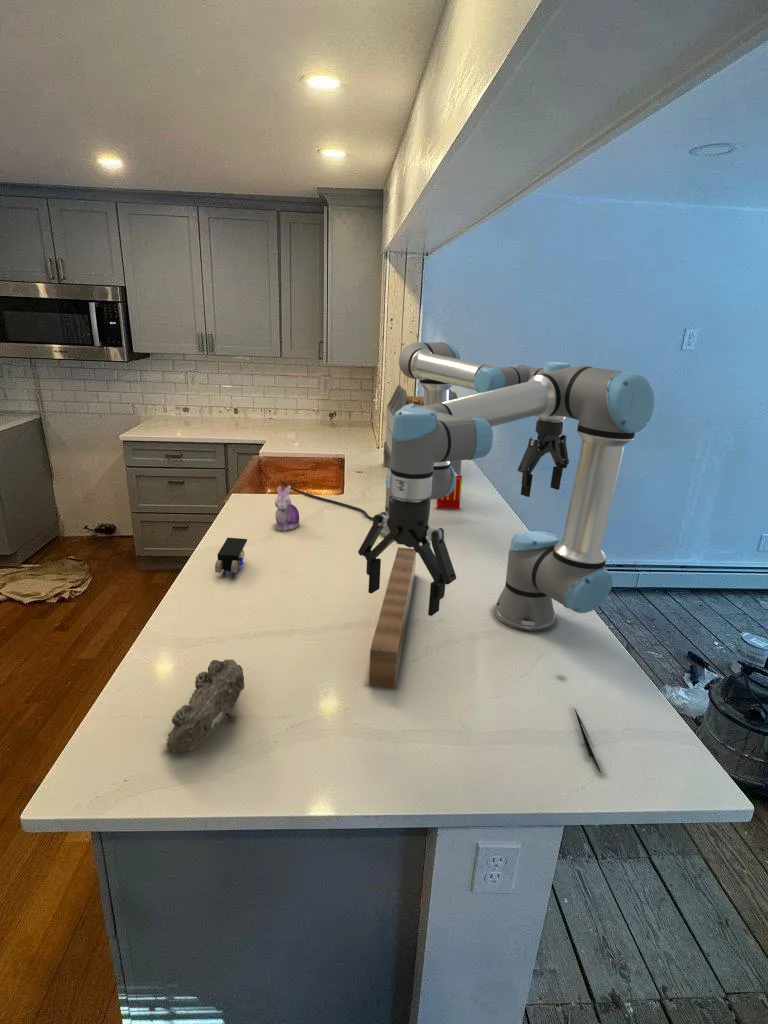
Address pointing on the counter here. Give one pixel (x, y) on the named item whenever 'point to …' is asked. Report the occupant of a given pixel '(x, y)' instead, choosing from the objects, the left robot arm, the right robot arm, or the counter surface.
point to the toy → (452, 497)
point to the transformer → (393, 406)
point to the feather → (587, 741)
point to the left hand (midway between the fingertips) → (540, 492)
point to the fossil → (206, 705)
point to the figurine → (285, 511)
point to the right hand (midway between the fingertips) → (402, 601)
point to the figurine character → (230, 556)
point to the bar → (392, 621)
